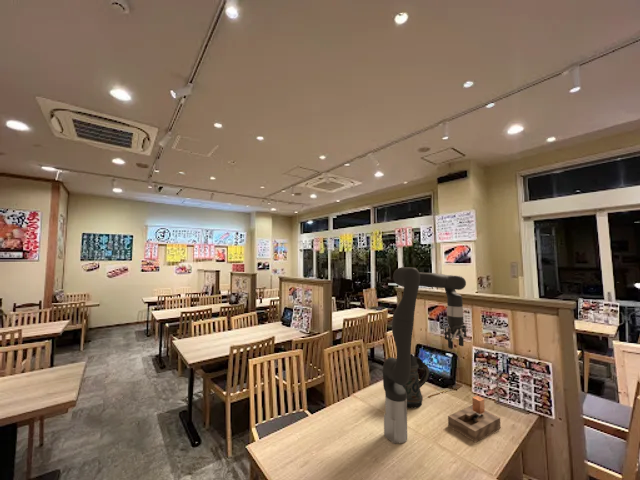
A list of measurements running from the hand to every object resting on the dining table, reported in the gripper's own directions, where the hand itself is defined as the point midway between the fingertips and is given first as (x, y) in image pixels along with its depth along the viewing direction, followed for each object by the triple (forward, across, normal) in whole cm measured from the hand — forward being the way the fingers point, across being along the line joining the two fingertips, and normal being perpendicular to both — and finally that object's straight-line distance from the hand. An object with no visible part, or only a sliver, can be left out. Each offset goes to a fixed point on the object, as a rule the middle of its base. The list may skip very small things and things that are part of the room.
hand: (456, 347), depth 138 cm
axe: (+35, +16, +20) cm, 43 cm away
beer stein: (+34, -9, +23) cm, 42 cm away
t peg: (+33, +3, -9) cm, 34 cm away
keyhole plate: (+34, -1, -9) cm, 35 cm away
